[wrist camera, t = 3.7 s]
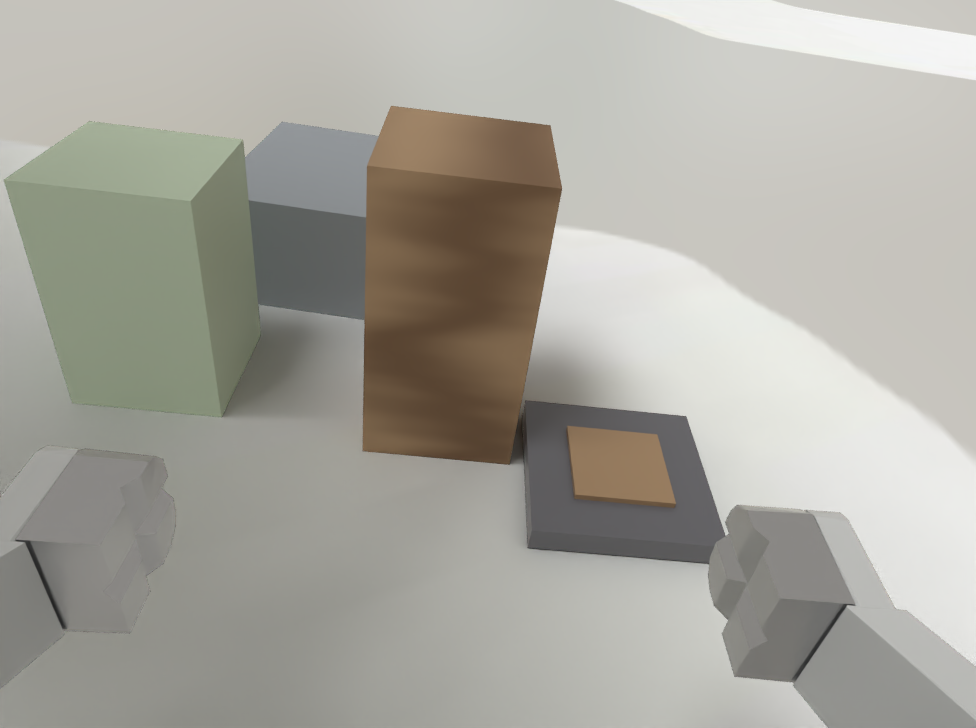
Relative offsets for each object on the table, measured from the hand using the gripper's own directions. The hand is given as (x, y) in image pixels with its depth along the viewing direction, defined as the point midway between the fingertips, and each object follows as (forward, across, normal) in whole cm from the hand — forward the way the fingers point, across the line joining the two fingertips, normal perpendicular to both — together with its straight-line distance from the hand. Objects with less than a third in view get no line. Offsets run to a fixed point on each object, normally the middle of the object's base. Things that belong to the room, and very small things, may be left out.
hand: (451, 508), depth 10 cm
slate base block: (+23, +5, +9) cm, 25 cm away
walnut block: (+13, 0, +9) cm, 16 cm away
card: (+10, -6, +9) cm, 15 cm away
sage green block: (+14, +10, +9) cm, 19 cm away
